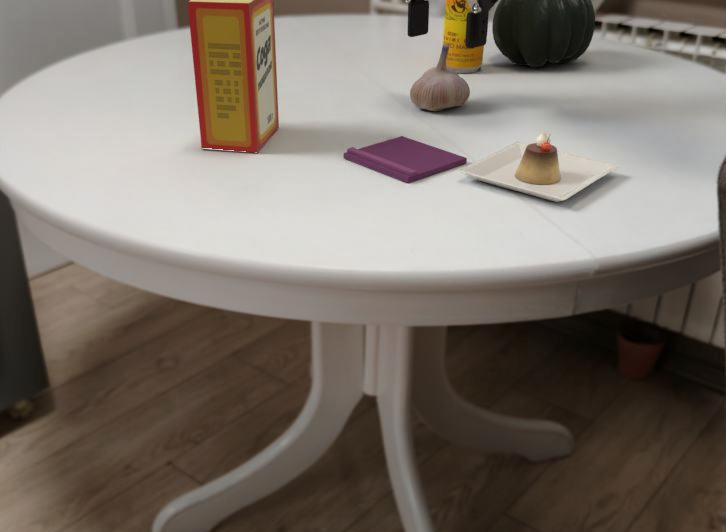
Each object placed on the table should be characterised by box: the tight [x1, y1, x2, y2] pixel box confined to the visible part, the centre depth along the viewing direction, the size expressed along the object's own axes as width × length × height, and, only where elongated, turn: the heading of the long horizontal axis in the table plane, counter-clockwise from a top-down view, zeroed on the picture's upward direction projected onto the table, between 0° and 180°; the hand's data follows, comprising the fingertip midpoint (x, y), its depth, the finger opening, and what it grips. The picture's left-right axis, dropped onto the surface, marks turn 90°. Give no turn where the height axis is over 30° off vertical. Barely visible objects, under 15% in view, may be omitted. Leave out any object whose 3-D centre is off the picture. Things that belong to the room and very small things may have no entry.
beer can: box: [442, 0, 485, 74], centre depth 118 cm, size 6×6×15 cm
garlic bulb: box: [409, 43, 471, 112], centre depth 103 cm, size 8×7×8 cm
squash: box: [491, 0, 596, 68], centre depth 122 cm, size 14×15×15 cm
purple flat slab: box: [343, 135, 468, 184], centre depth 88 cm, size 10×9×1 cm
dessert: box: [457, 132, 619, 203], centre depth 82 cm, size 12×12×5 cm
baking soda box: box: [187, 0, 280, 153], centre depth 90 cm, size 10×6×16 cm
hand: (445, 40), depth 100 cm, fingers open, 9 cm apart
